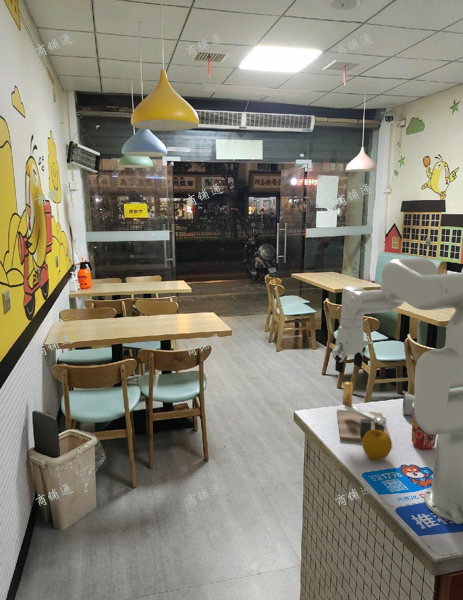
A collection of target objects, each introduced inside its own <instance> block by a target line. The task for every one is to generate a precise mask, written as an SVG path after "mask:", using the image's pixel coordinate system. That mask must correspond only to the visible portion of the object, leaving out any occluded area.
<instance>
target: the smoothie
mask: <svg viewBox="0 0 463 600" xmlns="http://www.w3.org/2000/svg"><path fill="white" fill-rule="evenodd" d="M412 406H413V407H412V416H411V442H412V444H413V446H414V447H415V448H416V449H418V450H420V451H431V450H433V448H434V447H436V441H437V435H432V434H428V433H426V432H424V431H423V430H422V429H421V428H420V427H419V425H418V423H417V421H416V418H415V414H414V403H413V404H412Z"/></svg>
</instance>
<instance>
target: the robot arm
mask: <svg viewBox="0 0 463 600" xmlns="http://www.w3.org/2000/svg"><path fill="white" fill-rule="evenodd" d="M341 293H342V294H341V313H340V325H339V326H338V329H337V331H336V339H335V345H334V348H333V349H332V350H331V354H332V358H334V360H335V367H334V368H335V369H334V370H335V371H336V372H338V373H341V374H343V373H344V369H345V367H344V366H345V362H344V359H345V358H346V357H349V356H352V355H354V356H353V365H354V366H357V367H359V368H361V367H362V366H363V357H364V355H365V351H366V349H367V346H368V342H367V341H365V340H364V339H365V337H364V335H365V332H364V315H369V314H379V313H381V314H382V313H387V312H390V311H393V310H395V309H397V308H399V307H401V306H402V305H404V303H407V304H408V305H410V306H411V307H413V308H415V309H417V310H421V311H434V310H435V311H437V310H446V309H454V310H455V311H454V313H453V314H452V315H451V317H450V319H449V321H448V323H447V326H446V329H445V343H444V346H443V347H442V348H436V349H435V348H434V349H429V350H427V351H424V352H423V353H422V354H421V355H420V356H419V357H418V359H417V361H416V364H415V369H414V370H415V371H414V392H413V393H414V394H413V395H414V414H415V418H416V421H417V423H418V425H419V427H420V428H421V429H422V430H423V431H424V432H426V433H428V434H432V435H436V441H435V453H434V462H433V463H434V464H433V471H432V472H433V474H432V480H431V487H429V488H428V489H426V491H424V495H423V500H424V503H425V505H426V507H427V508H428V509H429V510H430V511H432V513H434V514H435V515H436V516H439V517H441V518H443V519H444V520H448V521H452V522H454V523H455V524H457V525H458V524H463V388H462V387H463V273H442V274H439V270H438V267H437V265H436V264H435V263H434V262H433V261H432V260H430V259H428V258H424V257H423V258H422V257H412V258H411V257H410V258H395V259H391V260H390V261H387V263H386V264H385V265H384V266H383V268H382V270H381V281H380V289H372V290H366V289H364V287H361V286H358V285H357V286H356V285H355V286H353V285H349V286H346V287H344V288H343V290H342V292H341Z"/></svg>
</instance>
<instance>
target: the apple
mask: <svg viewBox="0 0 463 600" xmlns="http://www.w3.org/2000/svg"><path fill="white" fill-rule="evenodd" d="M389 436H390V434H389V435H388V434H386V433H385V432H383V431H381V430H369V431H367V432H366V433H365V435H364V437H363V440H362V443H361V446H362V448H363V451H364V453H365V455H366V456H367V457H368V459H371V460H372V461H383V460H384V459H385V458H386V457H388V456H389V454H390V453H391V450H392V440H391V437H389Z"/></svg>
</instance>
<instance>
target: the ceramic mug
mask: <svg viewBox="0 0 463 600" xmlns="http://www.w3.org/2000/svg"><path fill="white" fill-rule="evenodd" d="M413 403H414V394H411V393H410V394H409V393H404V396H403V401H402V415H406V416H411V417H412V407H413V406H412V404H413Z"/></svg>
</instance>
